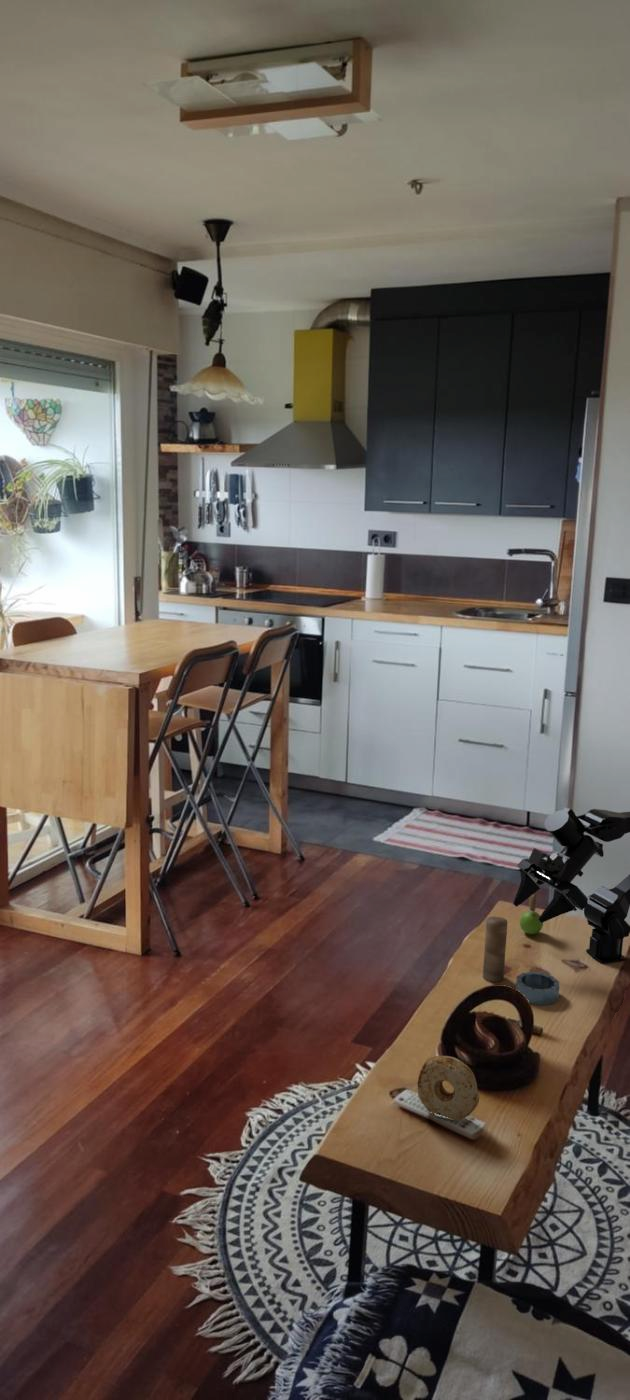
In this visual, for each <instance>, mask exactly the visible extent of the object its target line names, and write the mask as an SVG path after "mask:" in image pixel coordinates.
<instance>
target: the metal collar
mask: <svg viewBox="0 0 630 1400" xmlns="http://www.w3.org/2000/svg"><path fill="white" fill-rule="evenodd" d="M516 989H517V990H519V991H520V992H521V993H522V994H524V995H525V997H526V998H527V999H528V1000H529V1002H530V1003H531V1004H530V1003H529V1004H530V1005H536V1006H548V1005H553V1004H555V1003H557V1001H559V995H560V994H559V993H560V981H559V980H558V979H557V978H555V977H554V976H552V975H549V974H547V973H544V972H539V971H527V972H522V973H520V974H518V975H517V976H516V981H515V990H516Z"/></svg>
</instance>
